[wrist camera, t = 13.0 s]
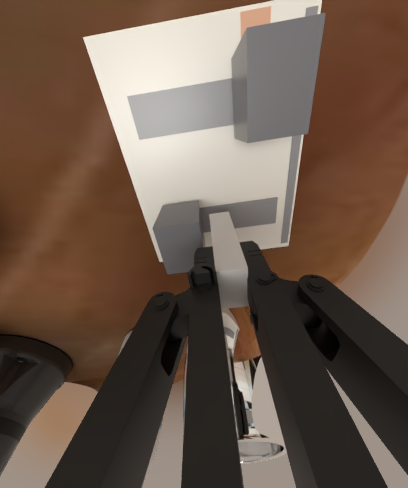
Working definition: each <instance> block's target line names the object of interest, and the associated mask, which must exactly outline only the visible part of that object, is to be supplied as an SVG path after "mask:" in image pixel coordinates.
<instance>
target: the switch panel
mask: <svg viewBox="0 0 408 488" xmlns="http://www.w3.org/2000/svg"><path fill="white" fill-rule="evenodd" d="M321 4H322V0H274V1H269V2H264V3H259V4H253V5H248V6H243V7H238V8H233V9H227V10H222V11H217V12H212V13H207V14H202V15H196V16H191V17H186V18H181V19H176V20H171V21H165V22H160V23H155V24H150V25H145V26H140V27H134V28H129V29H124V30H119V31H114V32H108V33H103V34H98V35H93V36H88V37H83V38H84V41H85V44H86V47H87V50H88V53H89V56H90V59H91V62H92V65H93V68H94V71H95V74H96V77H97V80H98V83H99V85H100V88H101V91H102V94H103V97H104V100H105V103H106V106H107V109H108V112H109V115H110V118H111V121H112V124H113V127H114V130H115V133H116V135H117V138H118V141H119V144H120V147H121V150H122V153H123V156H124V159H125V162H126V165H127V168H128V171H129V174H130V177H131V180H132V182H133V185H134V188H135V191H136V194H137V197H138V200H139V203H140V206H141V209H142V212H143V215H144V218H145V221H146V224H147V227H148V229H149V232H150V235H151V238H152V241H153V244H154V247H155V250H156V253H157V256H158V259H159V262H163V259H162V256H161V253H160V250H159V247H158V244H157V241H156V238H155V235H154V232H153V229H152V228H153V226H154V223H155V221H156V219H157V217H158V215H159V212H160V210H161V208H162V206H163V205H170V204H177V203H184V202H191V201H198V200H199V206H200V213H201V219H202V225H203V232H204V238H205V247H210V246H213V245H212V236H211V227H210V218H209V214H214V213H221V212H228V211H229V214H230V217H231V220H232V223H233V226H234V229H235V231H236V234H237V237H238V240H239V242H245V241H254V242H255V243H256V244H258V246H259V248H260V249H268V248H276V247H284V246H289V239H290V231H291V224H292V217H293V209H294V202H295V195H296V187H297V180H298V173H299V165H300V158H301V151H302V143H303V136H304V135H297V136H291V137H284V138H278V139H271V140H265V141H258V142H252V143H246V142H243V141H240V140H237V139H235V138H234V113H233V88H232V63H231V58H232V56H233V54H234V52H235V50H236V48H237V46H238V44H239V42H240V40H241V38H242V36H243V34H244V32H245V30H246V28H247V27H253V26H258V25H263V24H269V23H274V22H279V21H285V20H290V19H295V18H301V17H306V16H311V15H317V14H320V11H321Z"/></svg>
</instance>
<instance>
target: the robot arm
mask: <svg viewBox="0 0 408 488" xmlns="http://www.w3.org/2000/svg"><path fill="white" fill-rule="evenodd" d="M209 218H210V227H211V236H212V245H213V246H210V247H202V248H197V250H196V251H195V253H194V267H193V268H192V269H191V270H190V271H189V272H188V279H189V283H190V288H189V289H188V290H187V291H185V292H183V293H181V294H178V295H176V296H174V295H173V294H172V293H169V292H162V293H159V294H156V295H155V296H154V297H152V298H151V300H150V301H149V302H148V304H147V306H146V307H145V309H144V311H143V313H142V315H141V316H140V318H139V320H138V322H137V324H136V325H135V327H134V329H133V331H132V333H131V334H130V336H129V338H128V340H127V342H126V343H125V345H124V347H123V349H122V350H121V352H120V354H119V356H118V358H117V359H116V361H115V363H114V365H113V367H112V368H111V370H110V372H109V374H108V376H107V377H106V379H105V381H104V383H103V384H102V386H101V388H100V390H99V392H98V393H97V395H96V397H95V399H94V401H93V402H92V404H91V406H90V408H89V410H88V411H87V413H86V415H85V417H84V419H83V420H82V422H81V424H80V426H79V427H78V429H77V431H76V433H75V435H74V436H73V438H72V440H71V442H70V444H69V445H68V447H67V449H66V451H65V453H64V455H63V456H62V458H61V460H60V462H59V463H58V465H57V467H56V469H55V470H54V472H53V474H52V476H51V478H50V479H49V481H48V483H47V485H46V487H45V488H142V485H143V482H144V478H145V475H146V472H147V468H148V465H149V462H150V458H151V455H152V452H153V448H154V445H155V441H156V438H157V435H158V431H159V428H160V425H161V421H162V418H163V414H164V411H165V408H166V404H167V401H168V398H169V394H170V391H171V388H172V384H173V381H174V378H175V374H176V371H177V368H178V364H179V361H180V357H181V354H182V351H183V347H184V344H185V341H186V337H187V336H188V356H187V377H186V398H185V419H184V440H183V441H184V442H183V462H182V482H181V488H244V485H243V477H242V469H241V461H240V453H239V445H238V437H237V429H236V421H235V413H234V405H233V397H232V389H231V381H230V373H229V365H228V357H227V349H226V341H225V333H224V325H223V317H222V310H221V309H228V308H237V307H246V306H248V302H249V305H250V324H253V327H254V330H255V334H256V338H257V342H258V345H259V349H260V353H261V357H262V360H263V364H264V368H265V372H266V375H267V379H268V383H269V387H270V391H271V394H272V398H273V402H274V406H275V409H276V413H277V417H278V421H279V424H280V428H281V432H282V436H283V439H284V443H285V447H286V451H287V454H288V458H289V462H290V466H291V469H292V473H293V477H294V481H295V484H296V488H388V487H387V485H386V483H385V481H384V479H383V477H382V475H381V474H380V472H379V470H378V468H377V466H376V464H375V462H374V460H373V458H372V456H371V454H370V452H369V450H368V448H367V447H366V445H365V443H364V441H363V439H362V437H361V435H360V433H359V431H358V429H357V427H356V425H355V423H354V421H353V420H352V418H351V416H350V414H349V412H348V410H347V408H346V406H345V404H344V402H343V400H342V398H341V397H340V395H339V393H338V391H337V389H336V387H335V385H334V383H333V381H332V379H331V377H330V375H329V374H328V371H329V372H330V374H331V375H332V376H333V378H334V379H335V380H336V382H337V383H338V384H339V385H340V387H341V388H342V389H343V391H344V392H345V393H346V395H347V396H348V397H349V399H350V400H351V401H352V402H353V404H354V405H355V406H356V408H357V409H358V410H359V412H360V413H361V414H362V415H363V417H364V418H365V420H366V421H367V422H368V424H369V425H370V426H371V427H372V429H373V430H374V431H375V433H376V434H377V435H378V437H379V438H380V439H381V441H382V442H383V443H384V444H385V446H386V447H387V448H388V450H389V451H390V452H391V454H392V455H393V456H394V458H395V459H396V460H397V461H398V463H399V464H400V466H401V467H402V468H403V469H404V471H405V472H406V473H407V475H408V345H407V344H406V343H405V342H404V341H402V340H401V339H400V338H398V337H397V336H396V335H395V334H394V333H392V332H391V331H390V330H389V329H388V328H386V327H385V326H384V325H383V324H381V323H380V322H379V321H378V320H376V319H375V318H374V317H373V316H371V315H370V314H369V313H368V312H367V311H365V310H364V309H363V308H362V307H360V306H359V305H358V304H357V303H356V302H354V301H353V300H352V299H351V298H349V297H348V296H347V295H345V294H344V293H343V292H342V291H341V290H339V289H338V288H337V287H336V286H335V285H333V284H332V283H331V282H330V281H328V280H327V279H325V278H323V277H321V276H318V275H305V276H303V277H301V278H300V280H299V282H297V281H288V280H283V279H281V278H279V277H278V276H277V275H276V274H275V273H273V272H272V271H271V270H270V268H269V266H268V264H267V262H266V260H265V258H264V256H263V255H262V252H261V251H260V248H259V246H258V244H256V243H255V242H254V241H245V242H239V240H238V237H237V234H236V231H235V229H234V226H233V223H232V220H231V217H230V214H229V211H228V212H221V213H214V214H209ZM326 368H327V369H326ZM71 369H72V363H71V361H70V359H69V358H68V357H67V356H66V355H65V354H64V353H62V352H61V351H59V350H58V349H56V348H54V347H52V346H50V345H48V344H45V343H42V342H39V341H36V340H32V339H28V338H23V337H17V336H0V475H1V474H2V472H3V470H4V468H5V466H6V465H7V463H8V461H9V459H10V458H11V456H12V454H13V452H14V450H15V449H16V447H17V445H18V443H19V441H20V439H21V438H22V436H23V434H24V433H25V431H26V429H27V427H28V425H29V424H30V422H31V421H32V420H33V418H34V417H35V416H36V415H37V414H38V412H39V411H40V410H41V409H42V408H43V406H44V405H45V404H46V403H47V401H48V400H49V399H50V397H51V396H52V395H53V394H54V392H55V391H56V390H57V389H59V388H60V387H61V386H62V385H63V384H64V382H65V381H66V379H67V377H68V375H69V373H70V371H71ZM327 370H328V371H327Z"/></svg>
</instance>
